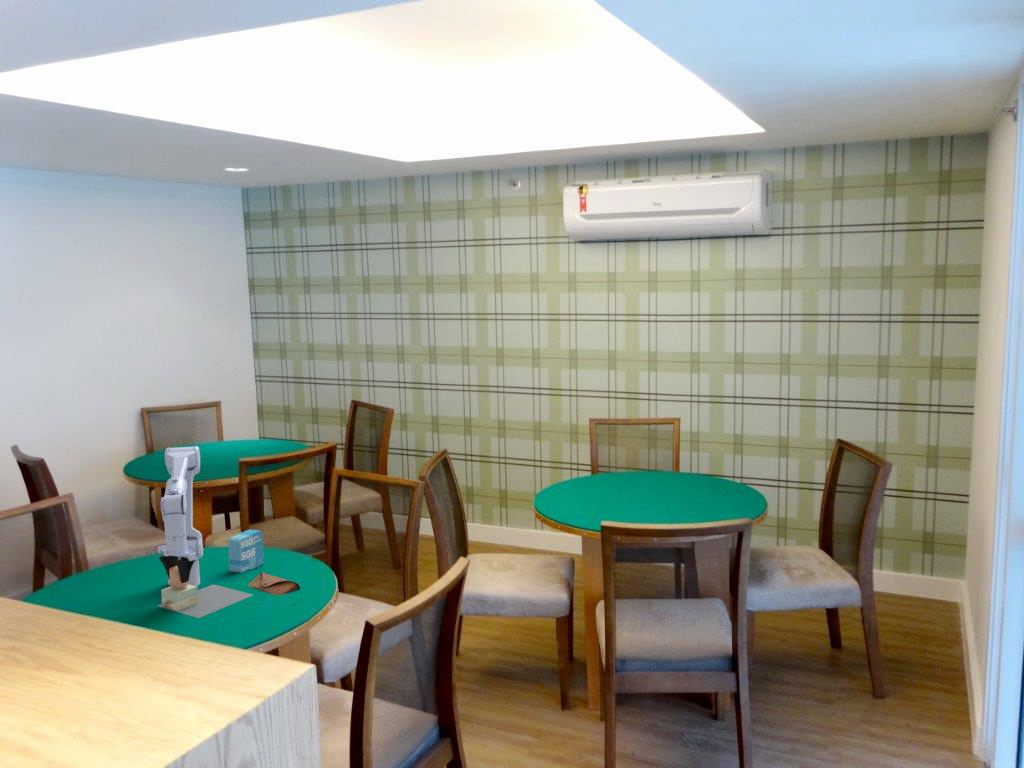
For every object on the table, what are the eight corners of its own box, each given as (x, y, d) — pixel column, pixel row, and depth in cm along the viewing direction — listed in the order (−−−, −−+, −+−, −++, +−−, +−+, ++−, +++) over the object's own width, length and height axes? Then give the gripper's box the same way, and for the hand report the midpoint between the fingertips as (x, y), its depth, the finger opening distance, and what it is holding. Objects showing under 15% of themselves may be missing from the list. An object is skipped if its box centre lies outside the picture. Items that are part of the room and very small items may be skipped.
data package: (240, 575, 275) (238, 540, 273) (229, 574, 277) (227, 538, 275) (264, 564, 286) (262, 529, 284) (253, 562, 288) (251, 528, 286)
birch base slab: (162, 606, 247) (161, 598, 247) (182, 598, 253) (182, 590, 253) (177, 611, 244) (177, 602, 243) (198, 602, 250) (197, 594, 249)
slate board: (157, 609, 248) (157, 605, 248) (213, 587, 265) (213, 584, 265) (198, 621, 239) (198, 618, 238) (253, 598, 256) (253, 594, 255)
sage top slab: (161, 598, 247) (161, 589, 247) (182, 590, 253) (181, 582, 253) (177, 602, 243) (176, 594, 243) (197, 594, 249) (197, 586, 249)
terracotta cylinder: (166, 585, 247) (165, 569, 247) (182, 580, 251) (181, 564, 251) (176, 589, 244) (175, 572, 244) (192, 583, 248) (191, 567, 248)
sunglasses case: (240, 588, 263) (248, 567, 265) (256, 593, 269) (264, 573, 271) (279, 600, 253) (287, 578, 255) (295, 605, 259) (303, 583, 261)
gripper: (147, 535, 246) (150, 580, 248) (180, 542, 239) (183, 589, 240) (168, 528, 252) (171, 572, 254) (201, 535, 245) (203, 581, 246)
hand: (178, 580), depth 248 cm, fingers closed on terracotta cylinder, 5 cm apart
